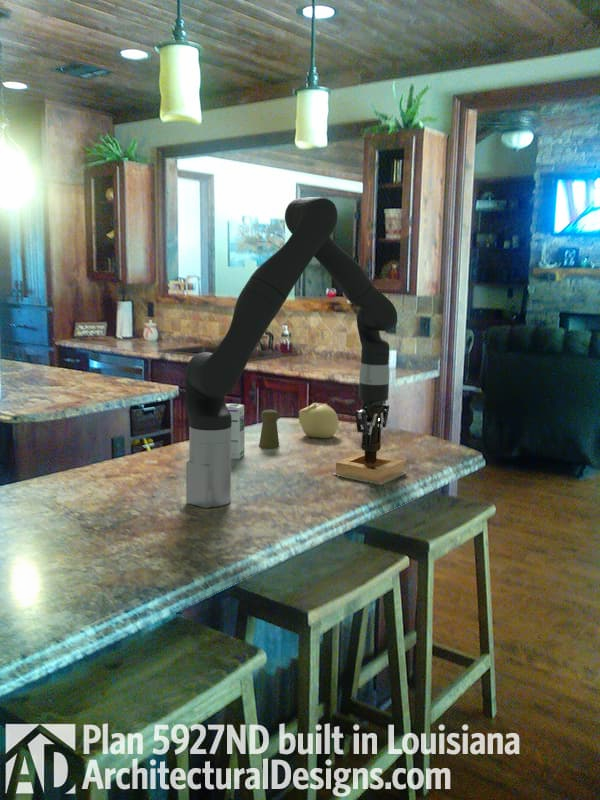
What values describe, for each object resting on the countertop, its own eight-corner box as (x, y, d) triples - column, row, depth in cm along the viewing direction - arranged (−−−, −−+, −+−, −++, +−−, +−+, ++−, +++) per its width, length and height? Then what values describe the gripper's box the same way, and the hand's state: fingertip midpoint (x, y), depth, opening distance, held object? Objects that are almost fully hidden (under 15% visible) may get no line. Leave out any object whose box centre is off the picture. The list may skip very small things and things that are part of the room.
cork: (255, 444, 215) (256, 408, 214) (274, 443, 218) (275, 407, 216) (263, 449, 210) (264, 412, 208) (282, 448, 213) (283, 411, 211)
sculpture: (320, 431, 237) (321, 398, 235) (345, 438, 228) (346, 404, 226) (293, 435, 230) (293, 401, 228) (317, 442, 221) (318, 408, 219)
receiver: (381, 485, 178) (381, 471, 177) (332, 475, 185) (333, 462, 185) (406, 473, 189) (407, 460, 189) (360, 464, 197) (360, 452, 196)
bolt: (381, 461, 189) (384, 404, 186) (381, 466, 184) (384, 408, 181) (359, 460, 189) (361, 403, 187) (358, 464, 184) (361, 407, 182)
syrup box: (239, 459, 198) (240, 407, 196) (218, 458, 199) (219, 406, 197) (244, 454, 204) (245, 404, 201) (224, 453, 205) (224, 402, 202)
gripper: (373, 386, 175) (370, 454, 178) (400, 379, 187) (396, 444, 190) (346, 382, 179) (344, 449, 182) (374, 376, 191) (371, 439, 194)
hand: (371, 446), depth 186 cm, fingers closed on bolt, 4 cm apart
